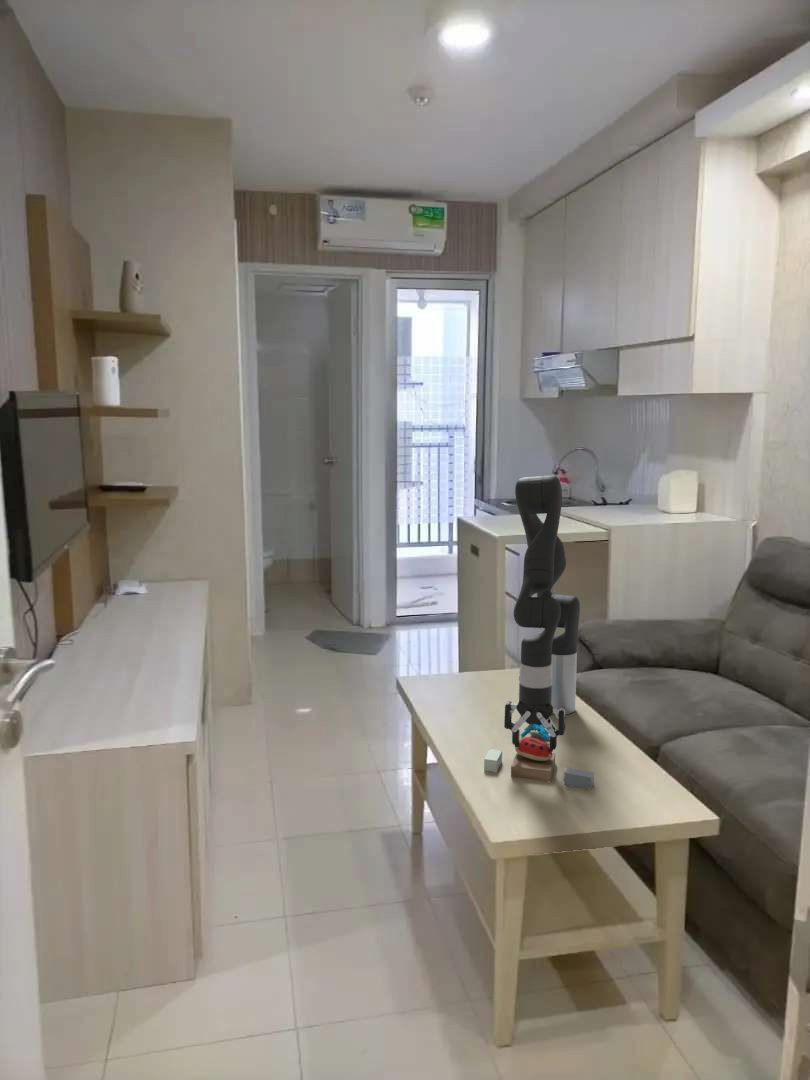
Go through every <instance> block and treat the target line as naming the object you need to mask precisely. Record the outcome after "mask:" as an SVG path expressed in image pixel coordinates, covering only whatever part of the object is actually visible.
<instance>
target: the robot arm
mask: <svg viewBox="0 0 810 1080" xmlns="http://www.w3.org/2000/svg"><path fill="white" fill-rule="evenodd" d="M514 486H515V489H514V491H515V492H514V493H515V494H514V495H515V501H516V505H517V508H518V509H517V510H518V512H519V516H520V519H521V522H522V525H523V529H524V534H525V537H526V538H525V539H526V544H527V548H526V551H525V553H524V557H523V573H522V584H521V587H520V592H519V595H518V597H517V600H516V603H515V604H514V608H513V619H514V621H515V624H517V625H518V627H520V628H521V627H522V628H532V629H533V628H534V629H543V631H542V632H541V633H538V634H534V635H530V636H529V635H528V636H526V637H524V638H522V640H521V643H520V666H519V673H518V674H519V676H518V681H519V682H518V683H519V684H518V685H519V686H518V687H519V688H518V703H513V702H512V701H510V700H509V701H507V702H506V704H505V706H504V723H503V725H504V727H503V728H505V729H506V730H510V731H511V732H512V733H511V735H512V737H511V743H512V745H514V748H515V747H518V746H519V740H520V729H521V728H520V727H522V726H523V724H524V723H526V724H527V725H529V724H536V725H541V724H543V726H544V727H545V729H546V730H547V731H548V732H549V734H548V735H549V736H550V738H549V747H550V748H549V751H550V752H552V753H553V752H554V751H555V750H556V749H557V744H558V742H557V740H558V736H563V735H565V731H566V715H568V714H572V713H574V712H575V711H576V698H577V696H576V695H577V693H576V692H577V691H576V690H577V659H578V640H579V638H578V637H579V626H580V625H579V623H580V616H581V615H580V614H581V613H580V612H581V611H580V610H581V604H580V600H579V598H578V597H577V596H575V595H569V594H568V595H567V594H558V593H557V594H556V593H553V592H552V589H553V588H554V585H555V584H556V583H557V582H558V580H559V579H560V578H561V577H562V575H563V574H564V572H565V570H566V566H567V559H566V552H565V545H564V544H563V541H562V540H561V538H560V537H559V536H558V533H559V528H560V527H559V525H560V519H561V511H562V503H563V487H562V485H561V481H560V479H559V477H558V476H557V475H553V474H552V475H549V474H548V475H537V476H524V477H520V478H519V479H518V480H516V484H515V485H514ZM538 514H546V516H545V520H544V522H543V521H542V520H541V519H540V518H539V516H538ZM534 595H536V596H534ZM557 628H560V629H561V628H562V629H564V632H563V633H561V634H559V635H555V634H556V630H557ZM515 710H517V712H518V714H519V715H520V716H519V717H518V719H517V721H515V723H514V722H512V717H513V716H512V715H513V714H512V713H515ZM553 714H554V715H555V718H556V719H558V728H556V726H555V725H554V723H553V720H552V719H551V716H552V715H553Z"/></svg>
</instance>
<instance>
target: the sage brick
mask: <svg viewBox="0 0 810 1080" xmlns="http://www.w3.org/2000/svg"><path fill="white" fill-rule="evenodd" d="M502 762H503V750H499V749H491V748H489V750H488V752H487V753H486V755H485V757H484V759H483V770H484V771H487V772H492V773H494V772H495V773H497V772H498V770H499V768H500V766H501V765H502Z"/></svg>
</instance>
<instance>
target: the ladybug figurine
mask: <svg viewBox="0 0 810 1080" xmlns="http://www.w3.org/2000/svg"><path fill="white" fill-rule="evenodd" d="M549 748H550V745H549V744H547V743H546V742H545V741H543V740H541V739H538V738H534V737H531V736H527V737H526V736H525V737H521V738H519V746H518V747H515V746H514V749H515V751H516V753H518V754H520V755H521V756H523V757H526V758H528V759H532V760H537V761H546V760H549V759H551V758H552V756H553V755H552V753H553V752H550V751H549Z"/></svg>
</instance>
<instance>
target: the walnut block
mask: <svg viewBox="0 0 810 1080" xmlns="http://www.w3.org/2000/svg"><path fill="white" fill-rule="evenodd" d="M552 755H553V756H552V758H551V759H549V760H546V761H537V760H532V759H528V758H526V757H523V756H521V755H520V754H518V753H517V752H516V754H515V756H514V758H513V760H512V763H511V766H510V778H519V779H525V778H526V780H533V779H534V780H535V781H542V780H543V781H542V782H548V781H550V782H551V781H552V780H551V779H552V777H553V772H554V769H555V765H556V753H553V752H552ZM534 780H533V781H534Z"/></svg>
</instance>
